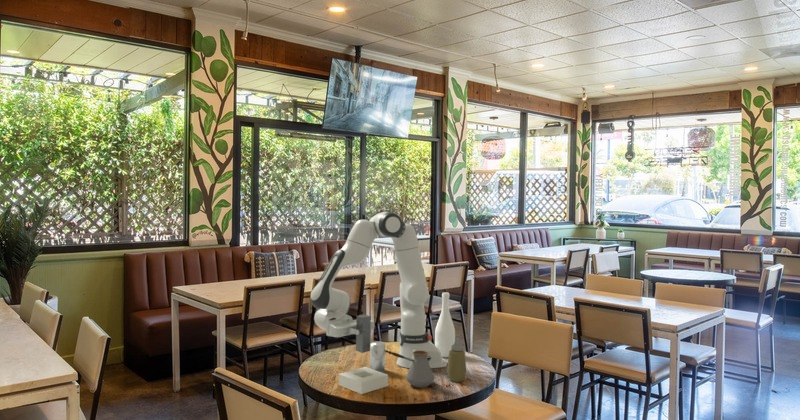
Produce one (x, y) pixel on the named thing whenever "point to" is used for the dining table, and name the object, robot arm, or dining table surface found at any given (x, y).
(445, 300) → the wine bottle
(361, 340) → the square bit
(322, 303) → the robot arm
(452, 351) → the squeeze bottle
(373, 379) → the socket block
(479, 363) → the dining table surface
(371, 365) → the round bit
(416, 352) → the coffee pot
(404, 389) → the dining table surface
